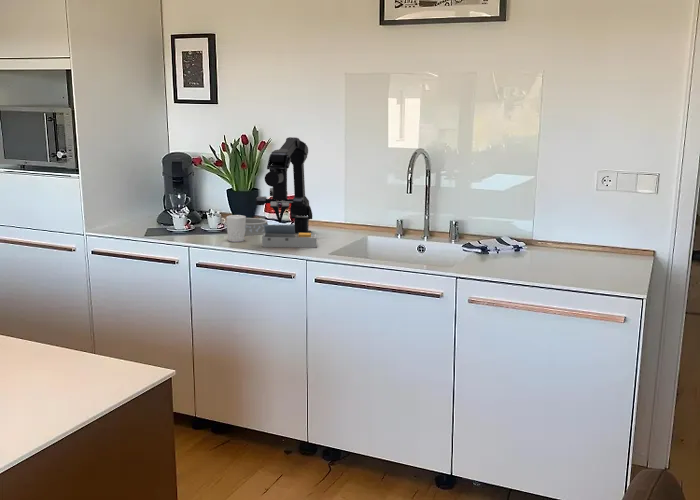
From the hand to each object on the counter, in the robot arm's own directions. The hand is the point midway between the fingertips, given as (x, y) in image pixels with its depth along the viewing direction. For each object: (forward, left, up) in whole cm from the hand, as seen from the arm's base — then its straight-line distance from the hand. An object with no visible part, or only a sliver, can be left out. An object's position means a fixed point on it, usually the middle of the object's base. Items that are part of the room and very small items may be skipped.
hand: (279, 222), depth 288 cm
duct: (-3, +2, -10) cm, 10 cm away
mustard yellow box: (-14, +2, -10) cm, 17 cm away
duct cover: (-1, -1, -3) cm, 3 cm away
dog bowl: (-16, -30, -10) cm, 35 cm away
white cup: (+2, -21, -10) cm, 23 cm away
